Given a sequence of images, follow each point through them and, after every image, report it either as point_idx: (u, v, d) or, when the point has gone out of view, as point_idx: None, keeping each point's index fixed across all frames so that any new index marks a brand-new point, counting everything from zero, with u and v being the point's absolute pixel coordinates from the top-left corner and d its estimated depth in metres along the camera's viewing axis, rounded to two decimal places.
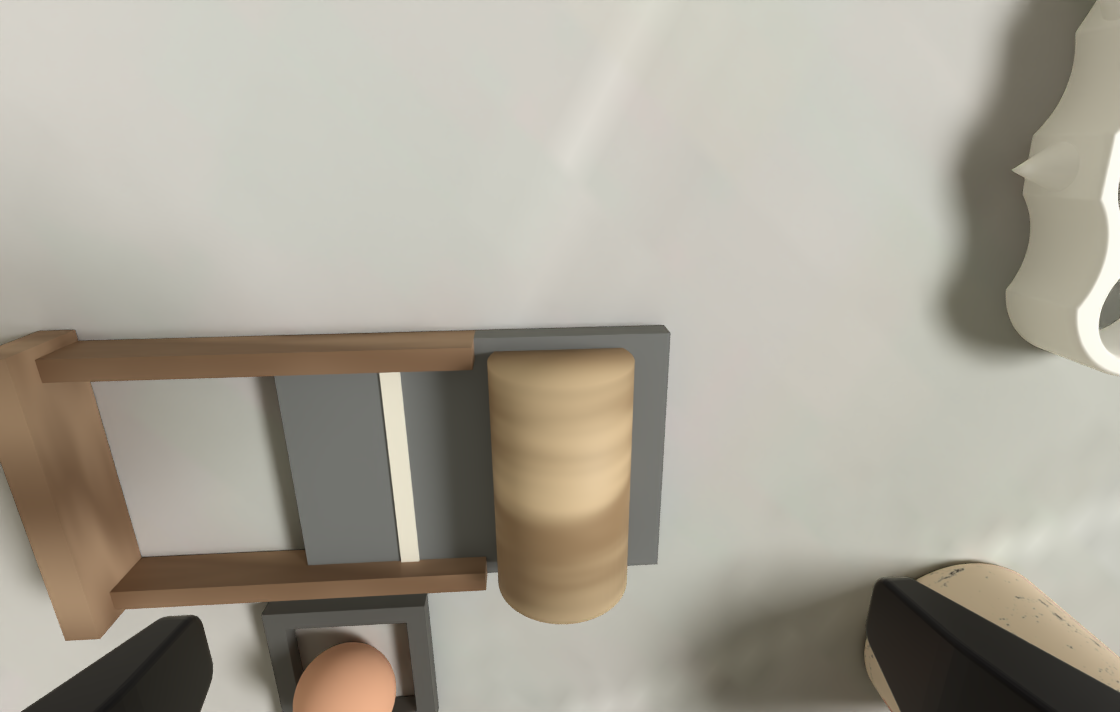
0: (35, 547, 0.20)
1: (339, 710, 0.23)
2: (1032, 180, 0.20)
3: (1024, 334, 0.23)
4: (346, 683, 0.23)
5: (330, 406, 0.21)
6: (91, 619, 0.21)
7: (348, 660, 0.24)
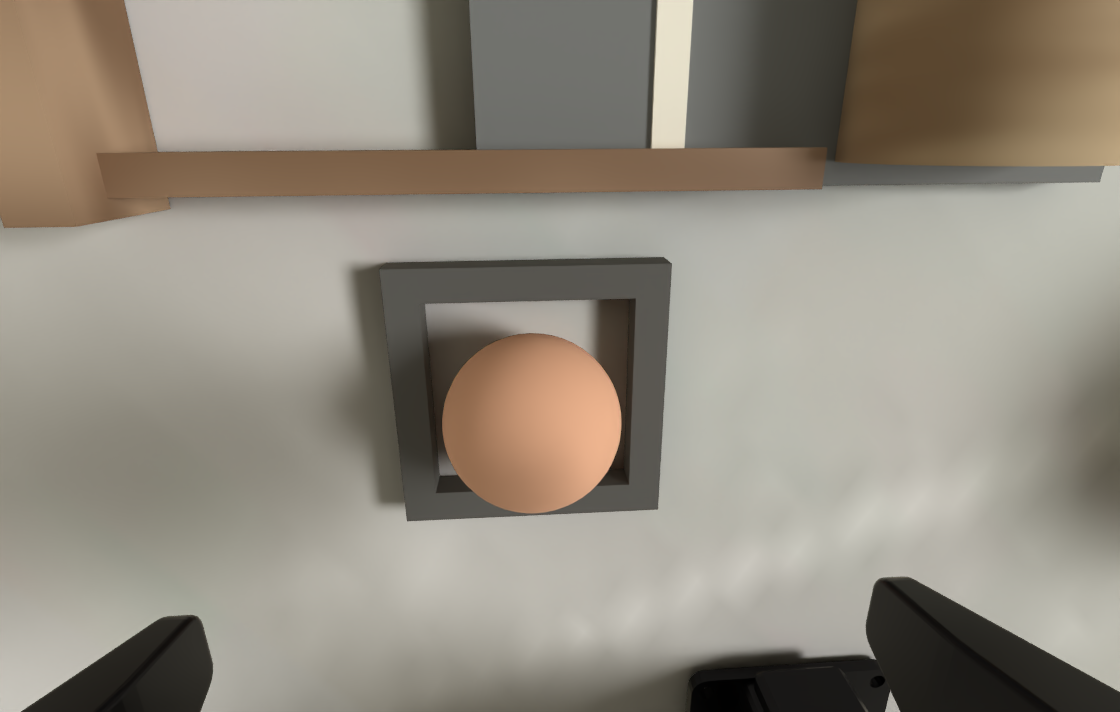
0: None
1: (550, 406, 0.12)
2: None
3: None
4: (555, 365, 0.12)
5: None
6: (56, 174, 0.10)
7: (547, 340, 0.13)
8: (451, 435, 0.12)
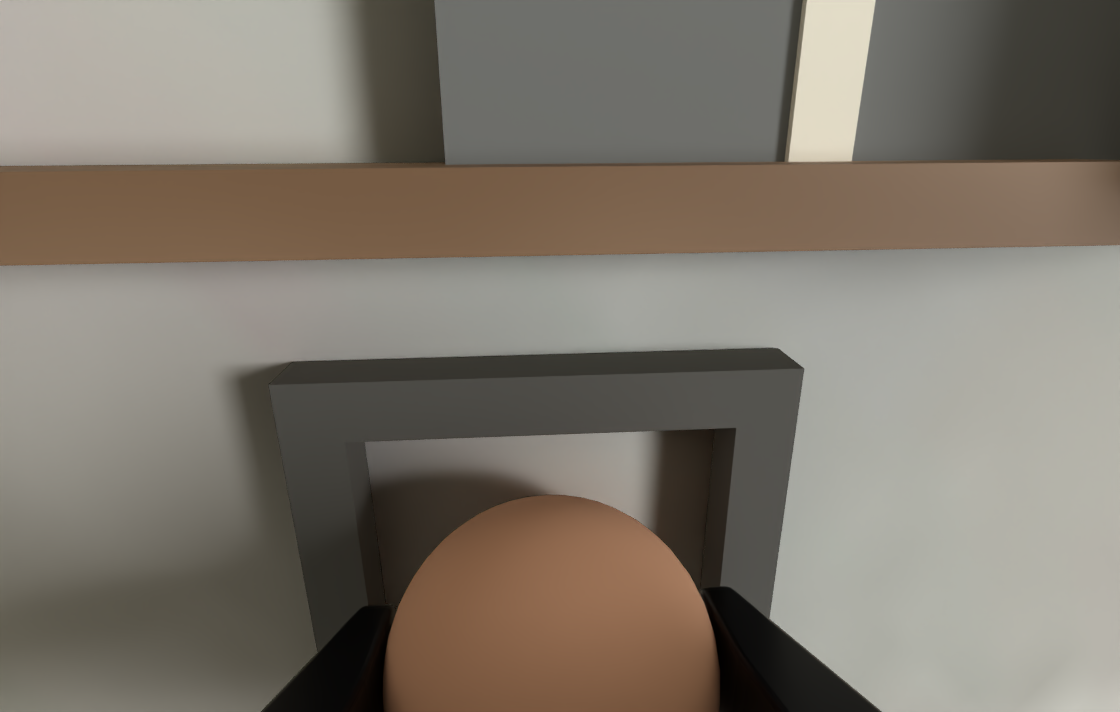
0: None
1: (597, 710, 0.05)
2: None
3: None
4: (603, 602, 0.06)
5: None
6: None
7: (584, 530, 0.07)
8: None
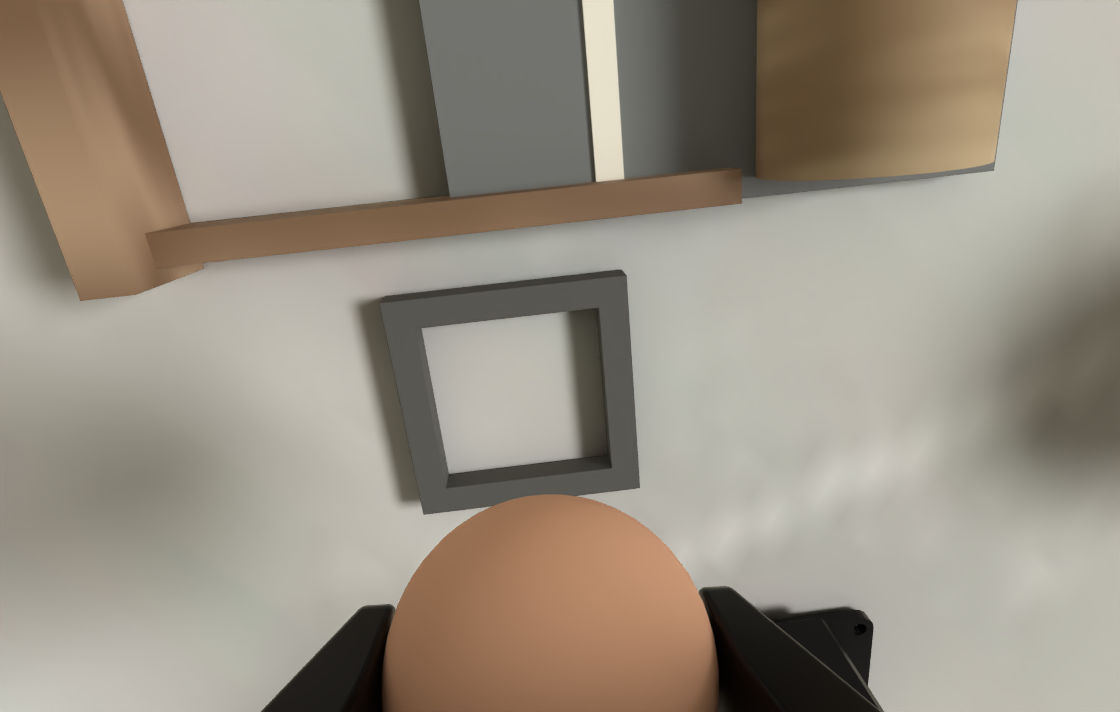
0: (10, 101, 0.12)
1: (595, 709, 0.05)
2: None
3: None
4: (601, 602, 0.06)
5: None
6: (118, 255, 0.13)
7: (582, 529, 0.07)
8: None
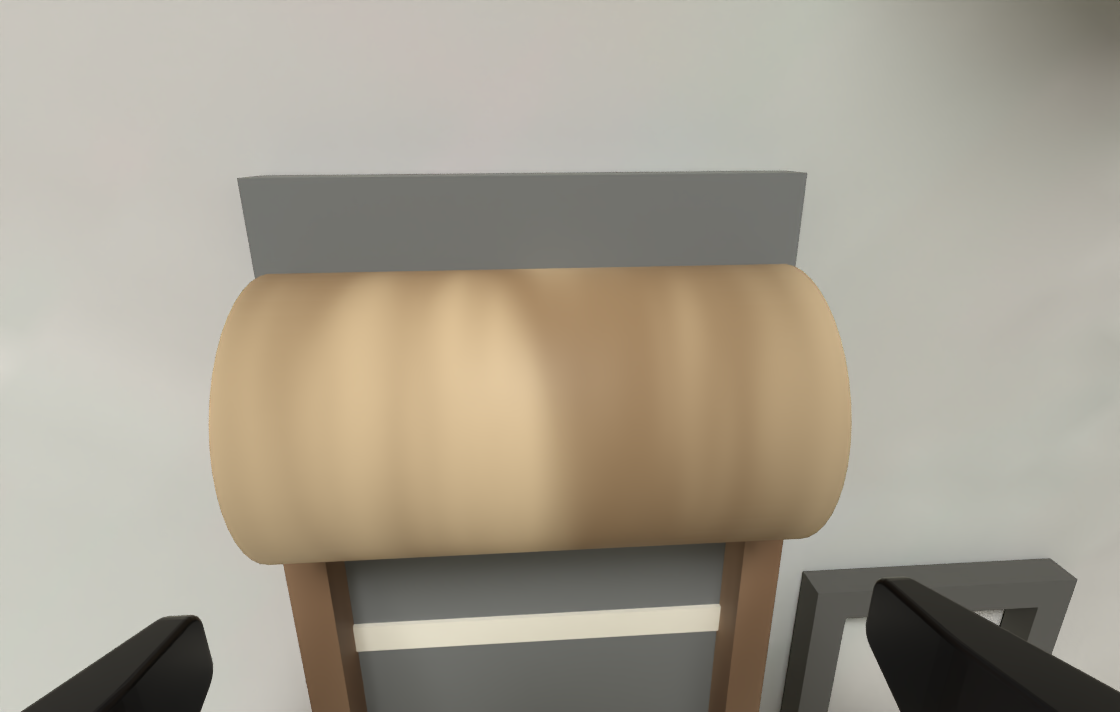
0: None
1: None
2: None
3: None
4: None
5: (434, 705, 0.14)
6: None
7: None
8: None
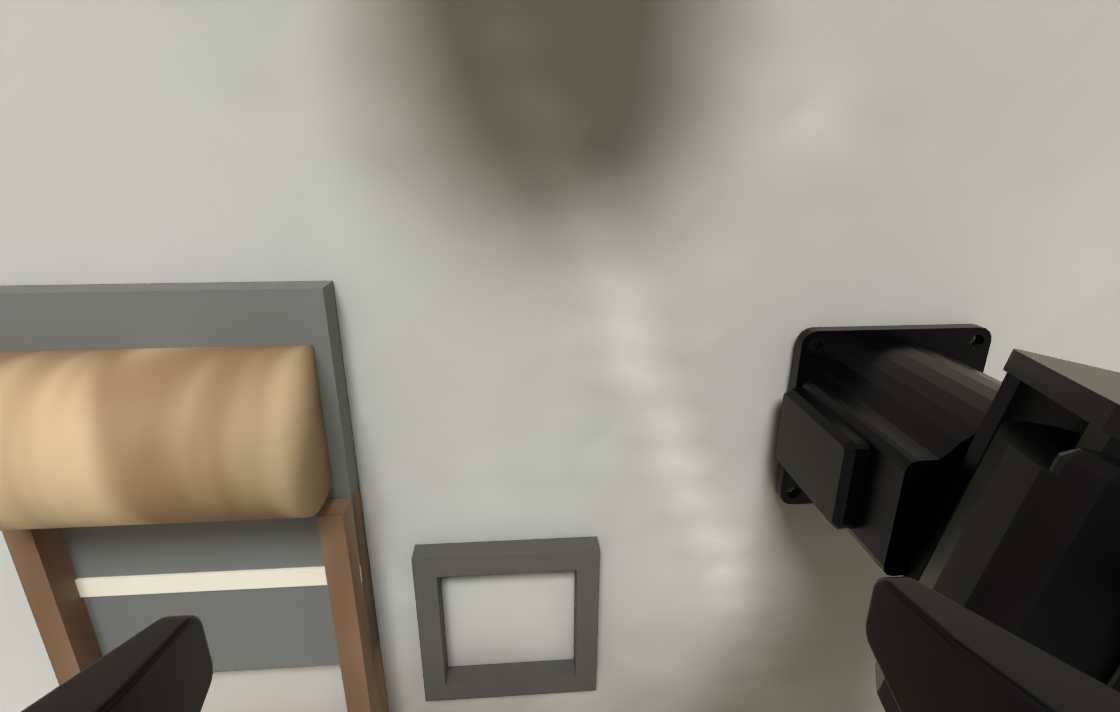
0: None
1: None
2: None
3: None
4: None
5: None
6: None
7: None
8: None
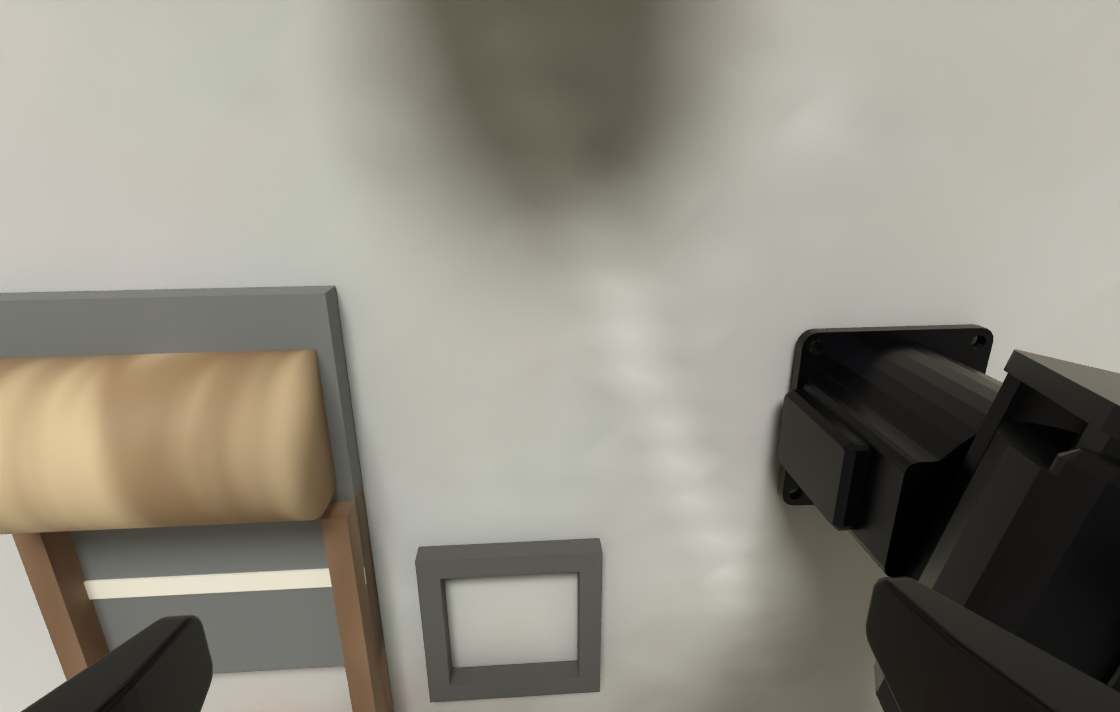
0: None
1: None
2: None
3: None
4: None
5: None
6: None
7: None
8: None
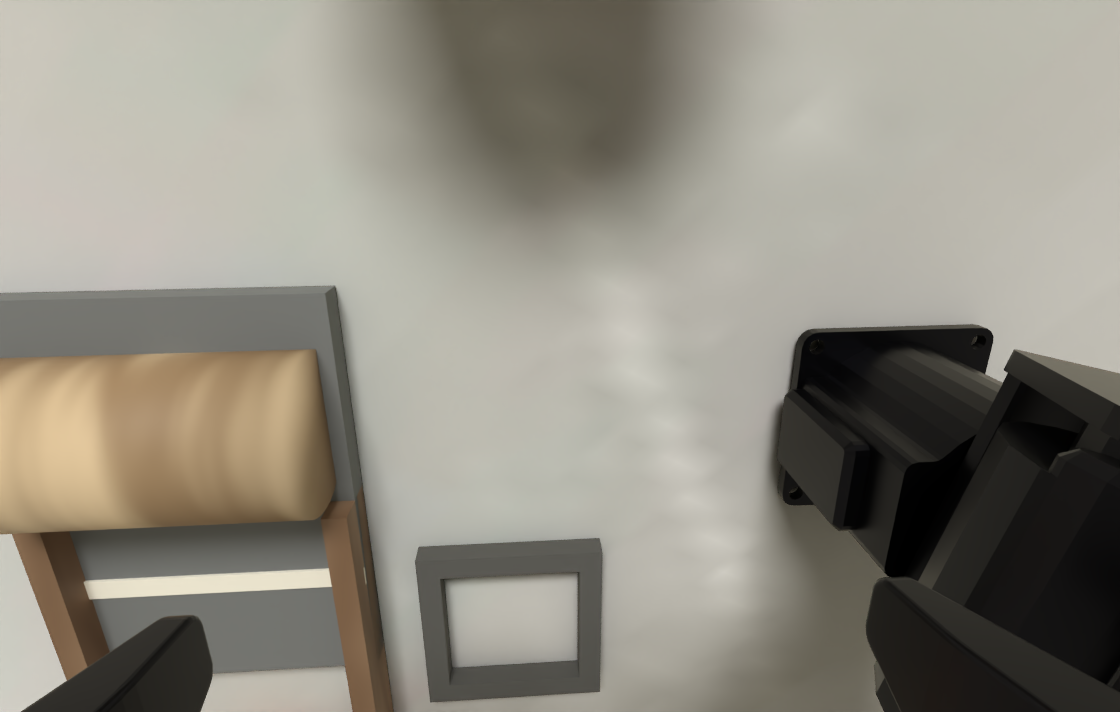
0: None
1: None
2: None
3: None
4: None
5: None
6: None
7: None
8: None
